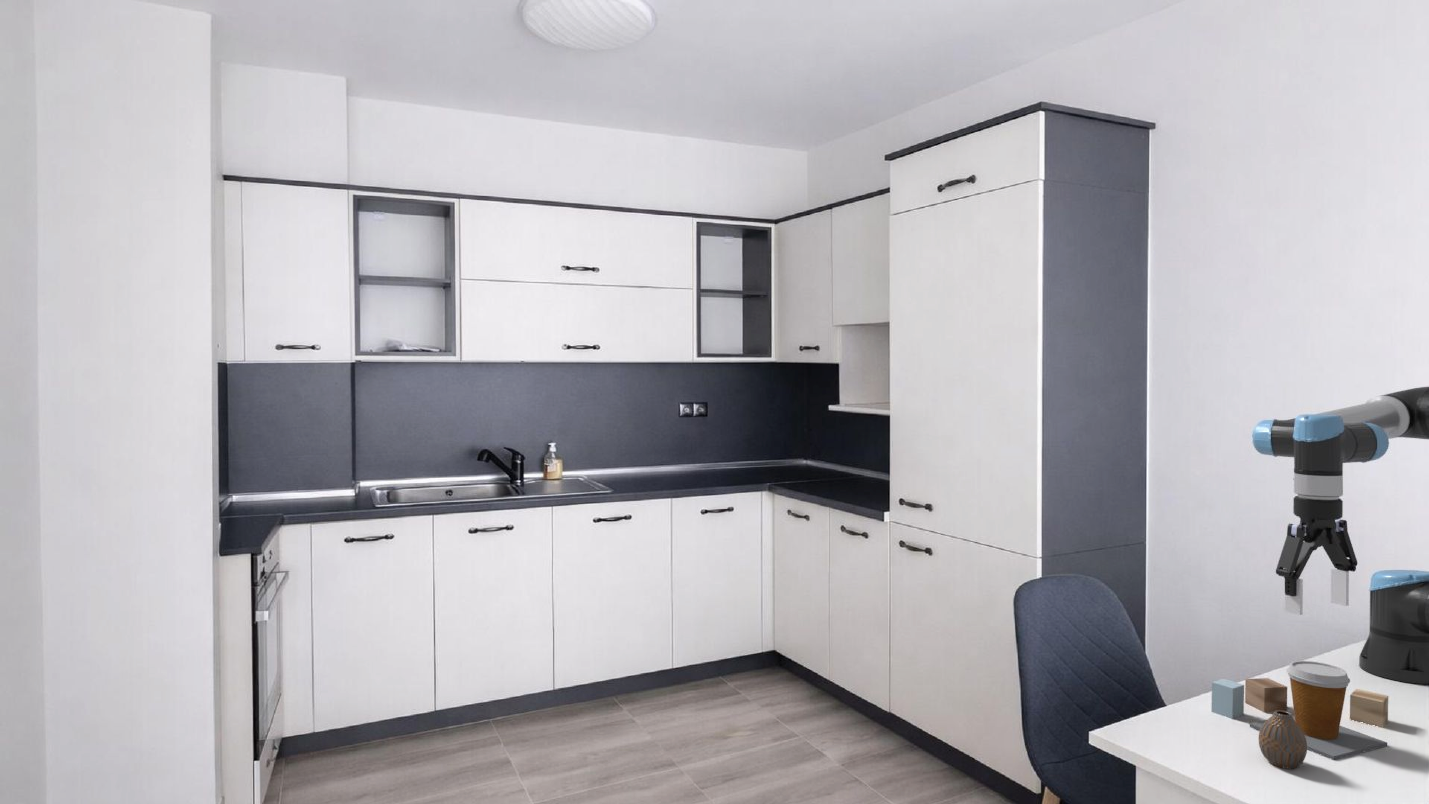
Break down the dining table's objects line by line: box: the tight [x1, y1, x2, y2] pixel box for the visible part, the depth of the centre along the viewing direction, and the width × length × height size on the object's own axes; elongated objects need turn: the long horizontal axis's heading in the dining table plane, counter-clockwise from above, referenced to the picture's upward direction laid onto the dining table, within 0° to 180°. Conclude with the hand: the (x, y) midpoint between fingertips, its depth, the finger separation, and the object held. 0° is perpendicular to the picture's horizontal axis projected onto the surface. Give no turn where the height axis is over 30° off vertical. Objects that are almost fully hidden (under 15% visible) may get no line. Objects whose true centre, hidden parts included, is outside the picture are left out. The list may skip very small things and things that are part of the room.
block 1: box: [1210, 678, 1245, 720], centre depth 165 cm, size 4×6×4 cm
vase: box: [1258, 710, 1308, 769], centre depth 144 cm, size 7×7×9 cm
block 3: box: [1349, 688, 1389, 729], centre depth 162 cm, size 5×5×5 cm
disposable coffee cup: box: [1286, 660, 1351, 739], centre depth 155 cm, size 10×10×12 cm
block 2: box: [1244, 677, 1288, 713], centre depth 168 cm, size 5×5×5 cm
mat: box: [1249, 713, 1388, 761], centre depth 155 cm, size 15×15×1 cm
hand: (1317, 608), depth 158 cm, fingers open, 13 cm apart
